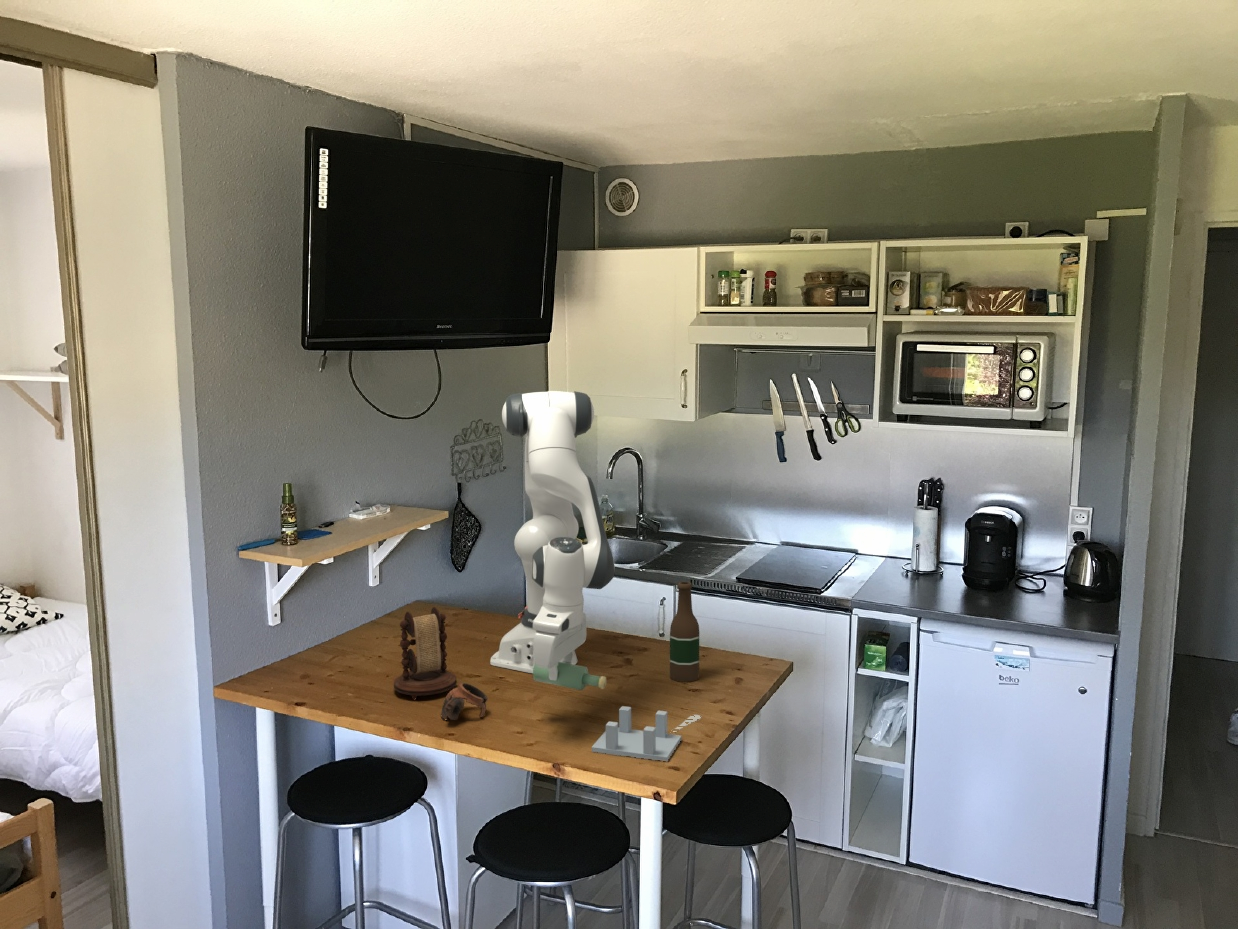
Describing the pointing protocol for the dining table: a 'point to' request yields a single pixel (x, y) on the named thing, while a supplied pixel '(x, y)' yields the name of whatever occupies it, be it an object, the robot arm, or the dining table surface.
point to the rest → (637, 738)
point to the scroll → (424, 656)
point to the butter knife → (688, 721)
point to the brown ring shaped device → (456, 702)
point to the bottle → (569, 676)
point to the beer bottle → (684, 639)
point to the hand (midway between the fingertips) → (560, 674)
